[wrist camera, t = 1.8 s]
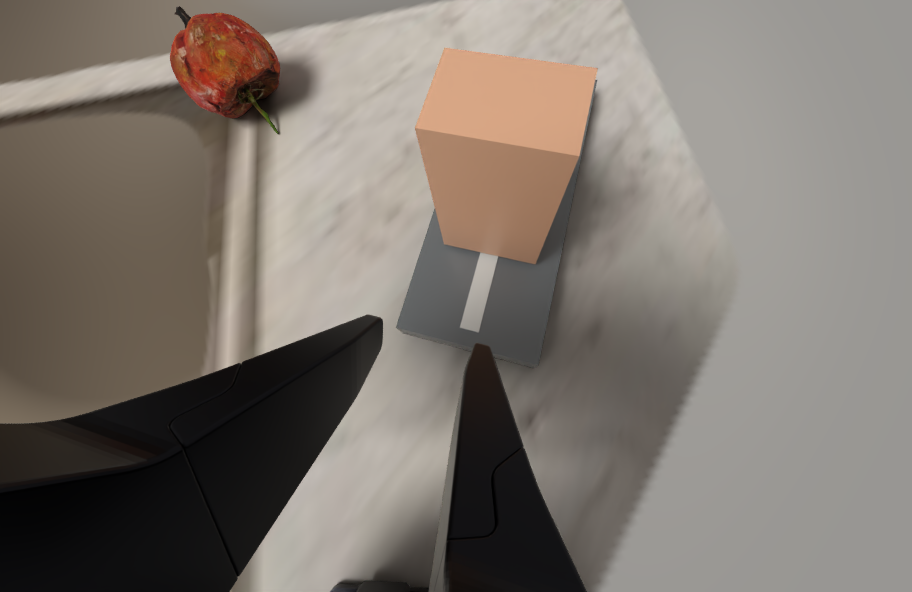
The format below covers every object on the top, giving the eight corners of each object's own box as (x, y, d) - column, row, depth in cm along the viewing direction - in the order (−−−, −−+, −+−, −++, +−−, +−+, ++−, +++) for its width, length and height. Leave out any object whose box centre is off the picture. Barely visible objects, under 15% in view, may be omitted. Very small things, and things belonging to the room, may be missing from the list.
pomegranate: (322, 119, 32) (249, 1, 28) (300, 103, 25) (200, -55, 21) (255, 159, 32) (175, 47, 29) (216, 154, 25) (103, 6, 22)
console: (533, 367, 22) (538, 365, 20) (403, 333, 23) (395, 327, 21) (589, 101, 27) (597, 78, 25) (481, 86, 29) (481, 62, 27)
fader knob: (535, 264, 21) (579, 156, 12) (444, 244, 22) (414, 127, 12) (547, 209, 22) (597, 68, 13) (459, 192, 23) (444, 47, 13)
